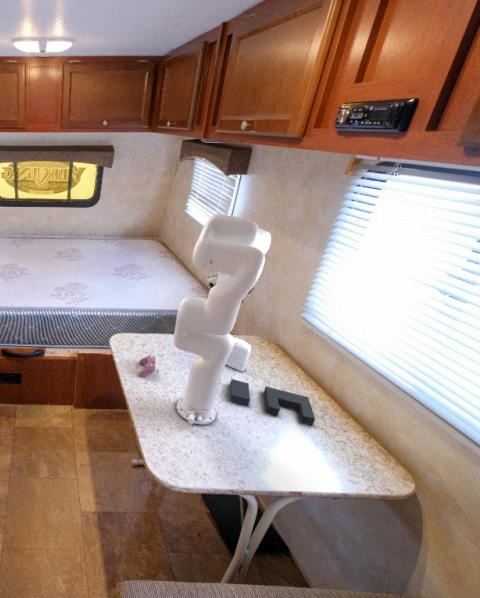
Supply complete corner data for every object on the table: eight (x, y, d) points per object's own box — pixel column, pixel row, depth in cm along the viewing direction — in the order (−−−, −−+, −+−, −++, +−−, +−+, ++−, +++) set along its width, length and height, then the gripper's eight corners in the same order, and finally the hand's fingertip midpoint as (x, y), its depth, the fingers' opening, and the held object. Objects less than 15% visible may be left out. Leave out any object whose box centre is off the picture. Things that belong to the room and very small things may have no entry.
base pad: (312, 425, 120) (315, 418, 118) (266, 413, 124) (268, 406, 123) (305, 403, 130) (308, 397, 129) (263, 392, 134) (265, 386, 133)
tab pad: (247, 406, 126) (249, 399, 125) (229, 401, 128) (231, 394, 127) (246, 389, 135) (248, 383, 134) (229, 385, 137) (231, 378, 136)
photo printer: (246, 368, 148) (254, 343, 143) (242, 373, 145) (250, 346, 140) (221, 358, 154) (229, 332, 149) (217, 361, 151) (224, 336, 146)
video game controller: (147, 381, 138) (158, 369, 135) (137, 375, 137) (148, 363, 134) (147, 367, 147) (157, 355, 144) (138, 361, 146) (148, 349, 143)
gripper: (212, 258, 134) (202, 300, 141) (263, 267, 129) (250, 310, 136) (213, 253, 140) (203, 294, 147) (260, 261, 135) (248, 302, 142)
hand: (225, 301), depth 142 cm, fingers open, 9 cm apart
